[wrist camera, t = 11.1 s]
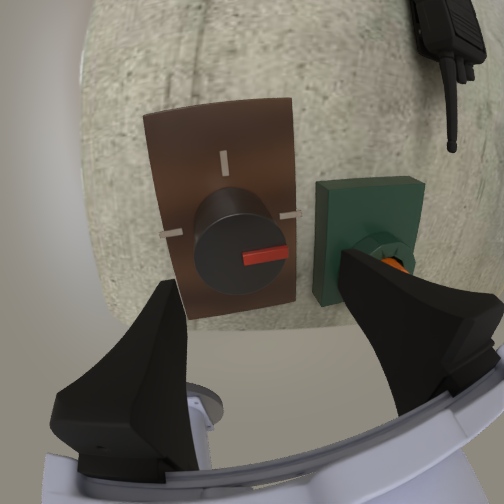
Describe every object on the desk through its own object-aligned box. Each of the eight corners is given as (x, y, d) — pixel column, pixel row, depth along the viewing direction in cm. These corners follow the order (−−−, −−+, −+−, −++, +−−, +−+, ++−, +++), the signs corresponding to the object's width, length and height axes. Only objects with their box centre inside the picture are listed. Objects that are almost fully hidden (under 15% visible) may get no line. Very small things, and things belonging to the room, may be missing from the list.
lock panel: (288, 278, 23) (300, 302, 20) (184, 295, 22) (184, 322, 19) (281, 98, 16) (298, 97, 13) (147, 115, 15) (136, 116, 12)
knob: (201, 261, 17) (203, 306, 13) (187, 194, 15) (184, 225, 11) (270, 249, 18) (290, 290, 14) (265, 182, 15) (287, 208, 12)
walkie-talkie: (455, -30, 8) (485, 159, 16) (397, -36, 11) (423, 146, 19) (454, -63, 3) (502, 165, 12) (383, -69, 7) (423, 148, 15)
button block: (392, 275, 25) (414, 298, 22) (311, 294, 24) (329, 324, 21) (409, 175, 20) (440, 191, 17) (315, 181, 19) (341, 199, 16)
